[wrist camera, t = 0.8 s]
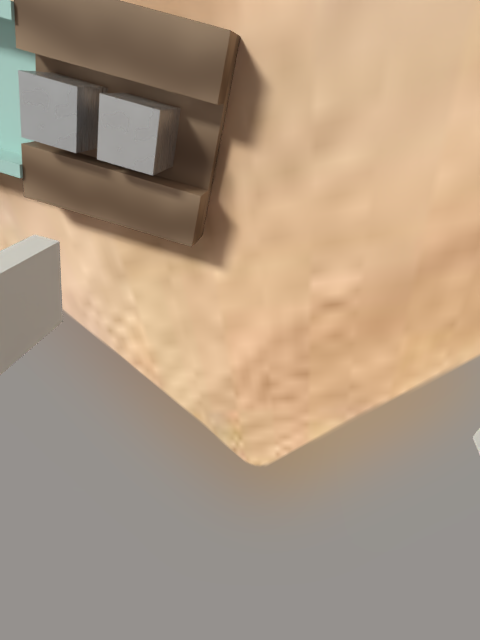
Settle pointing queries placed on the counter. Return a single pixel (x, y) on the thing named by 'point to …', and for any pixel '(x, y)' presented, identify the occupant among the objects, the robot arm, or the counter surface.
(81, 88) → the grey cube-shaped block
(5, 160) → the tray
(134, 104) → the grey wood-grain cube
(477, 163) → the counter surface
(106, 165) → the slot board
